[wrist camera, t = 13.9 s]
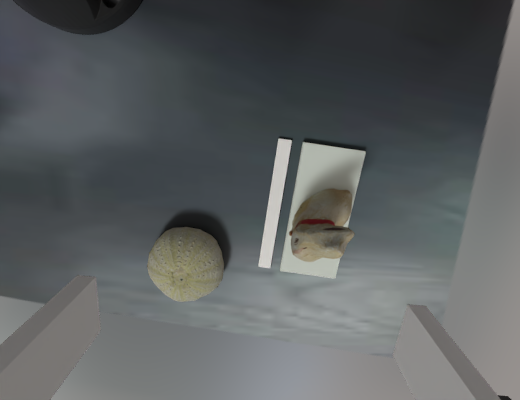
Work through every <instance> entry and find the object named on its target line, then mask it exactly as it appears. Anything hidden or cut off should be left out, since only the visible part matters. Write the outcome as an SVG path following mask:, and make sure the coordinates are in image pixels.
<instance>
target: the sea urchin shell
mask: <svg viewBox="0 0 520 400" xmlns="http://www.w3.org/2000/svg"><path fill="white" fill-rule="evenodd" d="M147 267H148V272H149V275H150V277H151V279H152V280H153V282H154V284H155V285H156V286H157V287H158V288H159V289H160V290H161V291H162V292H163V293H164V294H165V295H167V296H168V297H170V298H172V299H173V300H174V301H181V302H183V301H195V300H196V299H198V298H200V297H203V296H206V295H208V294H209V293H210V292H212V291H213V290H214V289H215V288H216V287H218V285H219V283H220V282H221V281H222V277H223V270H224V262H223V257H222V252H221V249H220V247H219V245H218V243H217V241H216V240H215V239H214V237H212V235H210V234H208V233H206V232H204V231H202V230H201V229H195V228H190V227H181V228H180V227H179V228H171V229H169V230H167V231H165V233H163V234H162V235H161V236H160V237H159V238H158V239H157V240H156V242H155V244H154V246H153V248H152V249H151V251H150V253H149V260H148V265H147Z"/></svg>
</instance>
